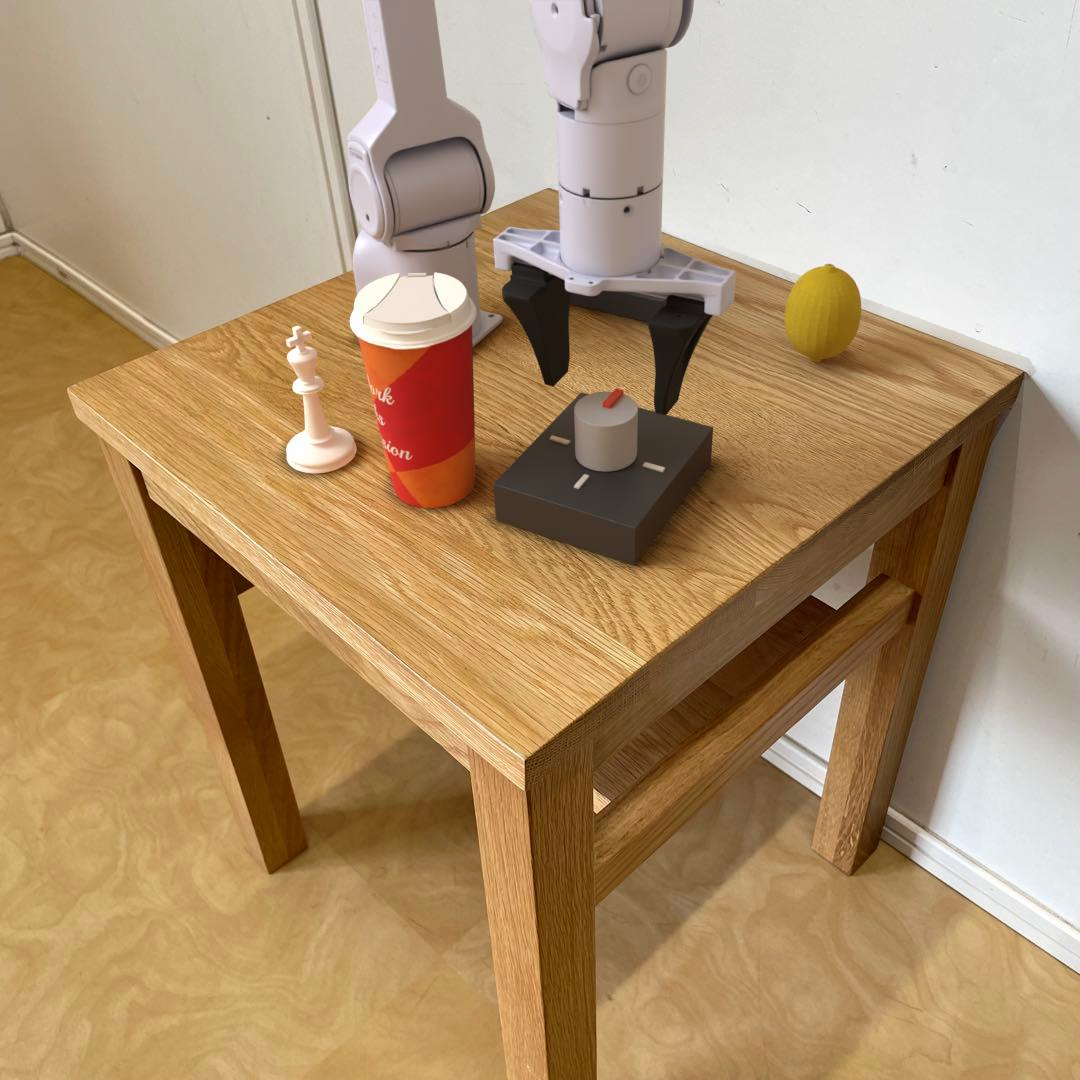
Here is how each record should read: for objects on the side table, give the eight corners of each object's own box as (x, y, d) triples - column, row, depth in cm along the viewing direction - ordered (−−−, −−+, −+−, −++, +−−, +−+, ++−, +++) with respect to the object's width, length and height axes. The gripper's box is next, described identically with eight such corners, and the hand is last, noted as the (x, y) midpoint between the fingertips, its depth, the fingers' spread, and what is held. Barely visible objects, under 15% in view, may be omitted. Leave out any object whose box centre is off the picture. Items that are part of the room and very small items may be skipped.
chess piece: (273, 453, 79) (244, 328, 73) (331, 425, 81) (307, 302, 75) (312, 482, 76) (285, 355, 70) (370, 452, 79) (349, 326, 72)
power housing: (534, 296, 96) (532, 253, 93) (578, 258, 101) (577, 216, 98) (662, 325, 91) (663, 280, 88) (700, 284, 96) (703, 241, 94)
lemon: (853, 382, 83) (869, 284, 78) (778, 377, 84) (789, 280, 79) (852, 345, 87) (868, 250, 82) (780, 340, 88) (791, 246, 83)
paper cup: (386, 451, 79) (357, 268, 70) (494, 449, 78) (479, 265, 69) (369, 520, 73) (335, 330, 64) (486, 519, 72) (469, 327, 63)
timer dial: (620, 478, 70) (620, 428, 68) (564, 462, 72) (562, 412, 69) (647, 445, 73) (648, 396, 70) (592, 430, 74) (592, 381, 72)
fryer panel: (495, 520, 72) (492, 481, 70) (581, 427, 80) (581, 389, 78) (634, 566, 68) (635, 526, 66) (711, 463, 76) (713, 424, 74)
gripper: (459, 184, 61) (477, 396, 70) (706, 230, 55) (693, 454, 64) (522, 141, 66) (532, 344, 74) (756, 179, 60) (738, 394, 69)
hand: (610, 391), depth 69 cm, fingers open, 7 cm apart
